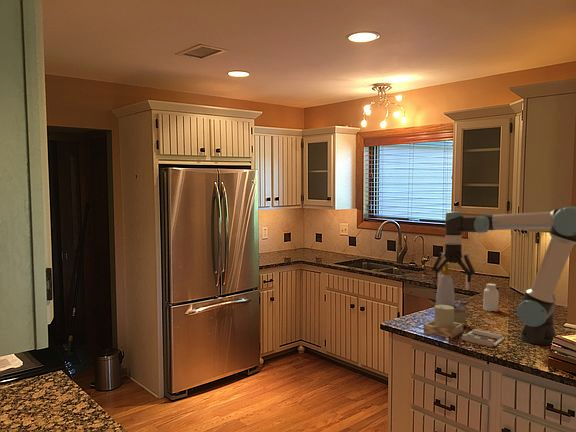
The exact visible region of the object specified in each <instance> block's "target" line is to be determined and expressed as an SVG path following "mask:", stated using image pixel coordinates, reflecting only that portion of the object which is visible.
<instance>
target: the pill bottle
mask: <svg viewBox="0 0 576 432" xmlns="http://www.w3.org/2000/svg"><path fill="white" fill-rule="evenodd" d="M485 287H486V288H484V289H483V302H482V303H483V306H482V309H483V311H486V312H491V311H495V312H498V311H499V294H500V293H499V291H500V290H498V289H497V284H495V283H485Z"/></svg>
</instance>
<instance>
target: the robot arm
mask: <svg viewBox="0 0 576 432" xmlns="http://www.w3.org/2000/svg"><path fill="white" fill-rule="evenodd" d="M444 222H445V223H444V228H445V229H444V230H445V231H444V232H445V236H444V237H445V239H444V240H445V241H444V243H445V247H444V253H443V252H442V251H441V252H438V254H437V255H438V256H437V259H436V261H435V263H434V264H433V267H432V268H431V270H432V272H435V279H437V287H438V286H440V285H441V275H442V272H441V270H443V269H444V268H445V265H446V264H447V263H448V262H449V264H451V263H453V264H458V265H459V267H461V269H462V270H463V271H464V272H465V274H466V275H465V290H469V289H470V283H471V282H472V276H473V275H475V274H476V271H475V269H474V267H473V265H472V263H471V260H470V257H469V254H463V253H462V247H463V245H462V243H463V242H462V241H463V239H462V236H463V235H462V233H463V232H464V233H478V234H480V233H482V234H483V233H488V231H501V230H502V231H507V230H510V231H511V230H538V229H539V230H541V229H542V230H543V229H544V230H545V229H550V230H549V236H550V240H549V243H548V245H547V248H546V250H545V253H544V255H543V258H542V261H541V263H540V264H539V265H540V266H539V267H538V271H537V273H536V276H535V278H534V280H533V283H532V286H531V287H530V288H528V289H526V290H525V293H524V295H523V297H522V300H521V302H520V303H519V304H518V305H517V308H516V315H517V317H518V319H519V320H520V321H521V322H522V323H523V326H522V329H521V332H520V335H519V336H520V339H521V340H522V341H524V342H526V343H529V344H533V345H540V346H552V345H551V343H552V340H553V337H554V336H557V333H556V329H555V325H554V323H555V321H554V320H555V306H556V304H555V302H556V295H555V290H556V288H557V286H558V284H559V281H560V279H561V276H562V273H563V272H564V268H565V266H566V263H567V261H568V259H569V258H570V254H571V252H572V249H573V248H574V245H576V205H572V206H571V205H569V206H564V207H562V208H554V209H553V210H551V211H540V212H539V211H538V212H534V211H533V212H519V213H499V214H498V213H497V214H481V215H476V216H475V215H474V216H473V215H472V216H470V215H469V216H467V215H466V216H465V215H463V213H462V212H461V211H447V212H446V213H445V221H444ZM443 258H445V259H444V260H443V262H442V263H441V261H442V259H443ZM462 259H463V260H464V262H465V263H466V265H465V263H464V262H463V260H462ZM440 263H441V264H440ZM439 264H440V265H439ZM557 337H558V336H557Z"/></svg>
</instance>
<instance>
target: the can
mask: <svg viewBox="0 0 576 432" xmlns="http://www.w3.org/2000/svg"><path fill="white" fill-rule="evenodd" d="M454 309H455V306H454V307H453V306H449V305H436V304H435V305H434V318H433V320H434V326H437V327H441V328H446V329H453V323H454Z"/></svg>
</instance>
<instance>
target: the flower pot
mask: <svg viewBox="0 0 576 432" xmlns="http://www.w3.org/2000/svg"><path fill="white" fill-rule="evenodd" d="M467 316H468V311H467V310H466V309H463V308H462V309H461V308H454V322H456V323H461V324H463V325H464V323H465V321H466V319H467Z"/></svg>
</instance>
